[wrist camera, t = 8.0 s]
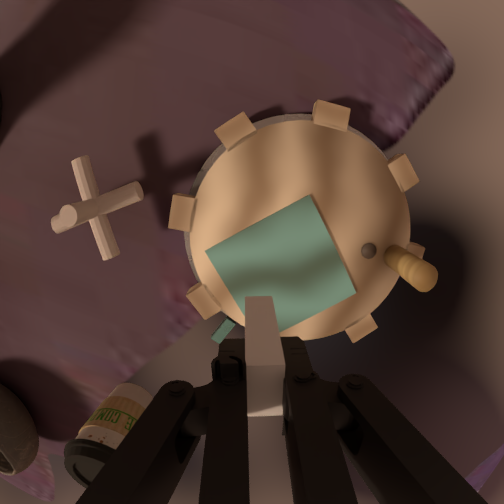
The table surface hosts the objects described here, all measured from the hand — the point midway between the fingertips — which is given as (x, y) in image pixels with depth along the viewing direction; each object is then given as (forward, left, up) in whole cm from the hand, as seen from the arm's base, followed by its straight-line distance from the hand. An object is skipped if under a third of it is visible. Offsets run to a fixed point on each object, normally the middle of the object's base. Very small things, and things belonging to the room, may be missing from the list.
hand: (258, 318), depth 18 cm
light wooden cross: (-11, -12, -17) cm, 23 cm away
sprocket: (0, +5, -15) cm, 16 cm away
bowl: (+9, -52, -17) cm, 55 cm away
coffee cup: (+13, -24, -17) cm, 32 cm away
